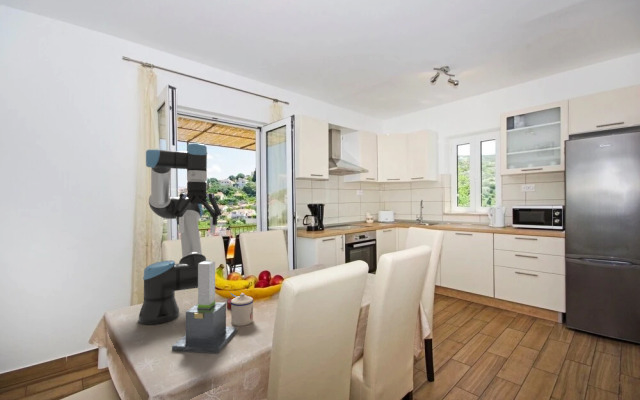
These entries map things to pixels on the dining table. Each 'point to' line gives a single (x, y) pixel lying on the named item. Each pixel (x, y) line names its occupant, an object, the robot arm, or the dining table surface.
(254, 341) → the dining table surface
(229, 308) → the canned food
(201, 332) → the stand
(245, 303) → the teacup with lid
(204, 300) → the post
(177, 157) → the robot arm
